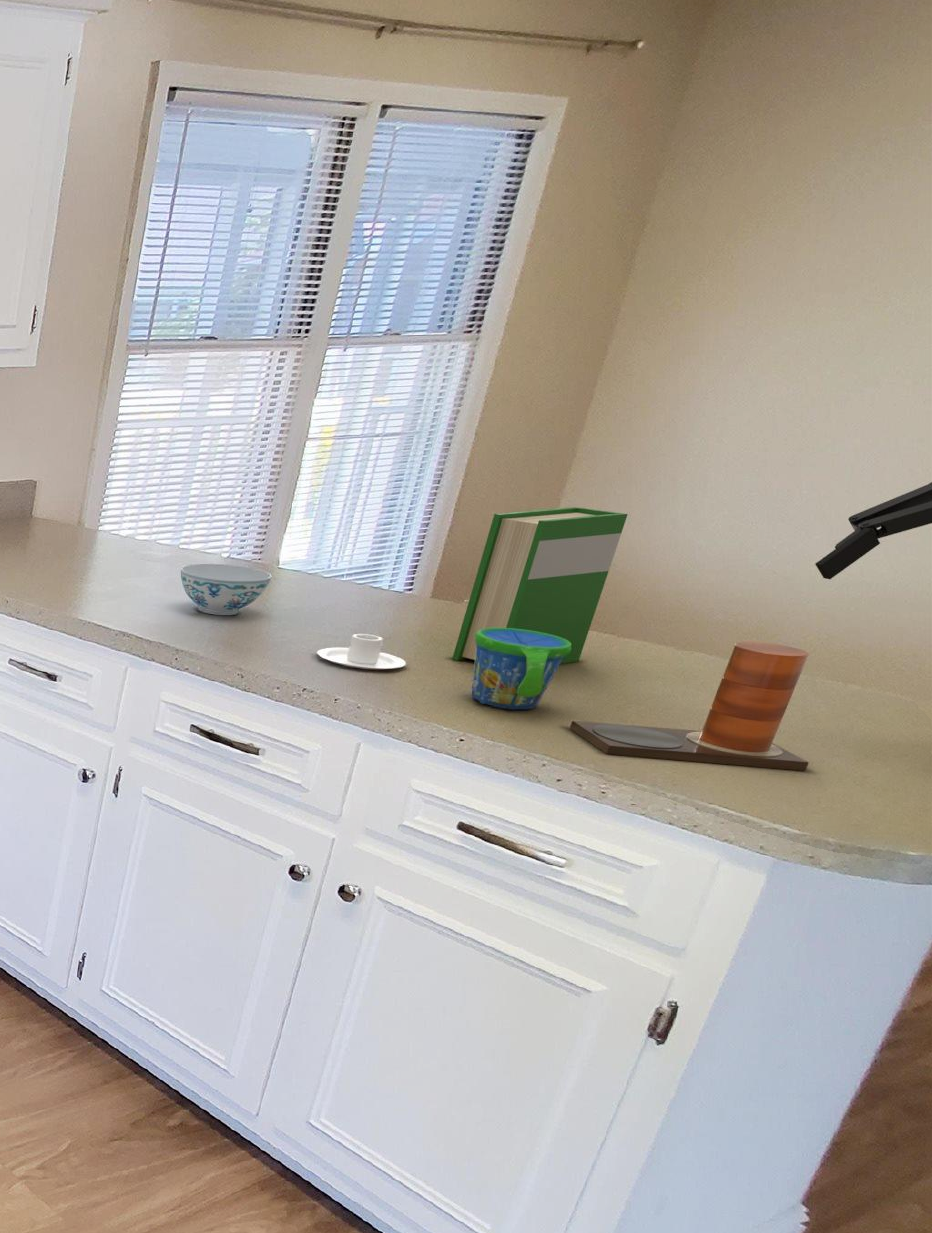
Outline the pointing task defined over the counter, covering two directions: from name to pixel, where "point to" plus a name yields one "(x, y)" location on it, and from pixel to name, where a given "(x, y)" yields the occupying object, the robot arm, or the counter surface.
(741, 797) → the counter surface
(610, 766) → the counter surface
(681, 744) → the board
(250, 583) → the chinaware
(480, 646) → the snack cup
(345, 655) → the candle holder
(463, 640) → the hardback book
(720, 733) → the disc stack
